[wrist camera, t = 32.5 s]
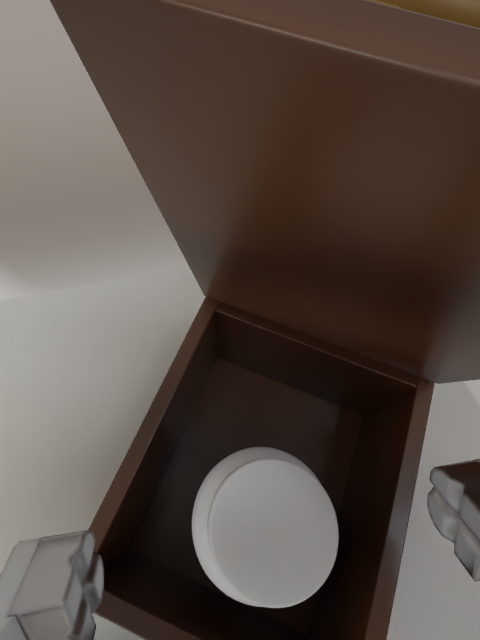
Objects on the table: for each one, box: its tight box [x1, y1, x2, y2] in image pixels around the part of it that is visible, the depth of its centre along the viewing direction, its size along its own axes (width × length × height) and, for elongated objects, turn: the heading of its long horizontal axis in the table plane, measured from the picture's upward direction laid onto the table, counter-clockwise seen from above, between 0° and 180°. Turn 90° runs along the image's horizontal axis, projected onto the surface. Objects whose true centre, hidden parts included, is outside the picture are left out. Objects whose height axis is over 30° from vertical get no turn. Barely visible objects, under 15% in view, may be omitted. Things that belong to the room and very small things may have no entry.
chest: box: [89, 296, 434, 640], centre depth 21 cm, size 15×13×9 cm
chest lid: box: [50, 0, 480, 384], centre depth 12 cm, size 16×13×5 cm
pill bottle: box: [192, 447, 339, 608], centre depth 18 cm, size 6×6×11 cm
